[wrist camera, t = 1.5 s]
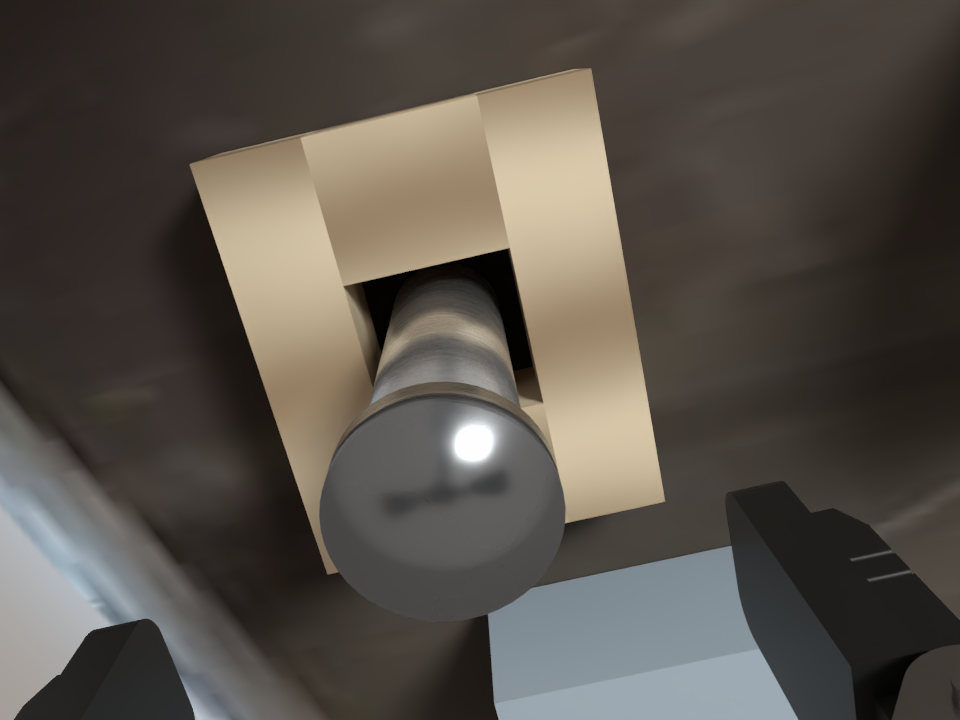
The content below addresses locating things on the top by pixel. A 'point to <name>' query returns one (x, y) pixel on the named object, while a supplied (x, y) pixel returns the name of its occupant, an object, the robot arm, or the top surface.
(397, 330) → the pin
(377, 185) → the mount
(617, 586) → the socket
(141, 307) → the top surface
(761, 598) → the robot arm
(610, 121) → the top surface
